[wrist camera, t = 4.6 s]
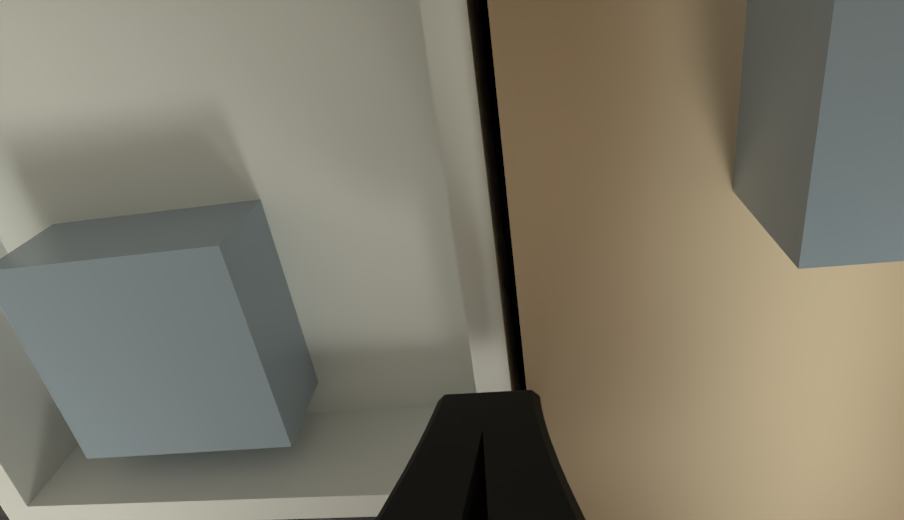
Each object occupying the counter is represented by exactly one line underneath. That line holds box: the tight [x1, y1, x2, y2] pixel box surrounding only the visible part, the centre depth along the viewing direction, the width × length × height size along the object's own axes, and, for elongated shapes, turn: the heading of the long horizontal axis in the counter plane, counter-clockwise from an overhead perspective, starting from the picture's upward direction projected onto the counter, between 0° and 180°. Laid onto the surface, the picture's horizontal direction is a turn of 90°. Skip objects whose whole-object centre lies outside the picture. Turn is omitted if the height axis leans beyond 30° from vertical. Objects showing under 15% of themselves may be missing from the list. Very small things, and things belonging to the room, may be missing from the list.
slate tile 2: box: [0, 199, 318, 459], centre depth 13 cm, size 4×4×2 cm
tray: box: [0, 0, 520, 520], centre depth 11 cm, size 11×12×3 cm
